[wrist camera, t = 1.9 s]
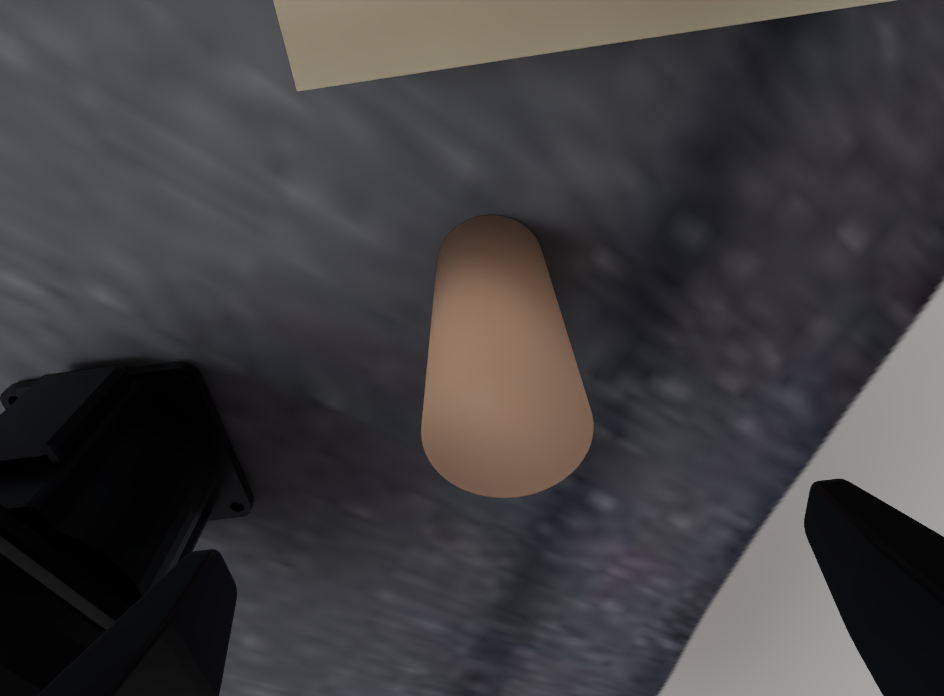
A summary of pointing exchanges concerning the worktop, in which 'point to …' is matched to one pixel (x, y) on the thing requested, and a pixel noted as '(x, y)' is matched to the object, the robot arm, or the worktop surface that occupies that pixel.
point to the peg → (500, 367)
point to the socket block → (489, 30)
